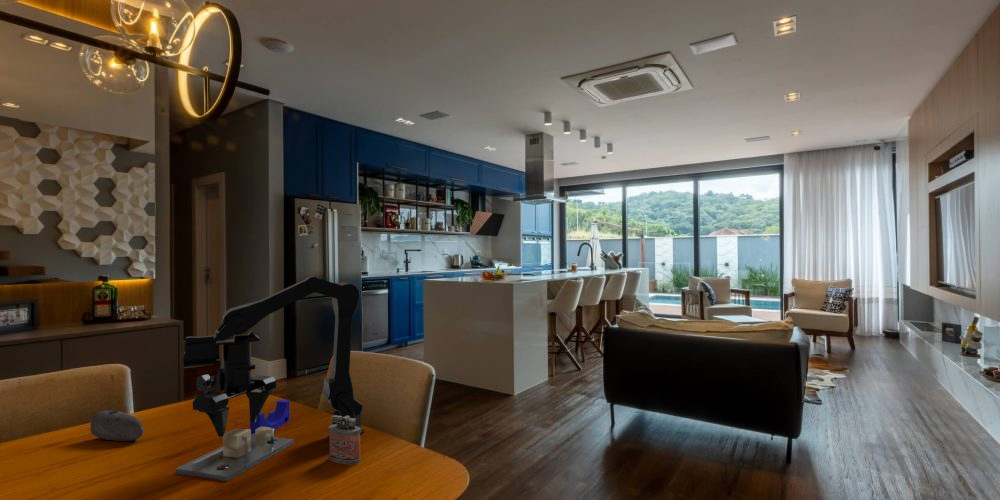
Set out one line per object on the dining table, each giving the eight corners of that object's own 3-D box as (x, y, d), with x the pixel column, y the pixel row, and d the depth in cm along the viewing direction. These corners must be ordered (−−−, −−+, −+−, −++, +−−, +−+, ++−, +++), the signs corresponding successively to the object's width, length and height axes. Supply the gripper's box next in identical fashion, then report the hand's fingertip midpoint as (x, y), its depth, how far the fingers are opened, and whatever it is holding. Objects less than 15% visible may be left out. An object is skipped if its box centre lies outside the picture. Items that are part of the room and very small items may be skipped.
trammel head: (254, 451, 110) (254, 430, 110) (240, 458, 106) (240, 436, 106) (237, 449, 111) (237, 428, 111) (223, 456, 107) (222, 434, 107)
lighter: (364, 459, 107) (363, 415, 107) (355, 465, 104) (354, 420, 104) (335, 454, 110) (334, 412, 110) (325, 460, 107) (325, 417, 107)
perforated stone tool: (151, 438, 121) (151, 411, 121) (130, 446, 116) (130, 418, 116) (109, 433, 125) (109, 407, 125) (87, 440, 120) (87, 413, 120)
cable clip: (275, 420, 134) (275, 399, 134) (289, 421, 133) (289, 400, 133) (244, 436, 122) (244, 413, 122) (260, 437, 121) (260, 414, 121)
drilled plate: (293, 443, 117) (293, 427, 117) (227, 481, 98) (227, 461, 98) (248, 438, 121) (248, 422, 121) (175, 473, 101) (175, 454, 101)
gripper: (241, 352, 120) (241, 412, 120) (172, 369, 102) (173, 441, 102) (277, 354, 117) (277, 416, 117) (213, 372, 99) (213, 446, 99)
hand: (237, 429), depth 109 cm, fingers open, 9 cm apart
